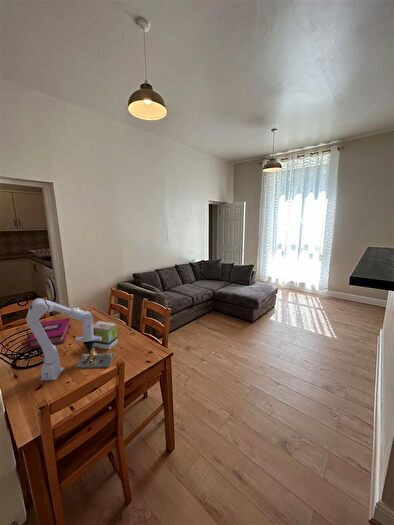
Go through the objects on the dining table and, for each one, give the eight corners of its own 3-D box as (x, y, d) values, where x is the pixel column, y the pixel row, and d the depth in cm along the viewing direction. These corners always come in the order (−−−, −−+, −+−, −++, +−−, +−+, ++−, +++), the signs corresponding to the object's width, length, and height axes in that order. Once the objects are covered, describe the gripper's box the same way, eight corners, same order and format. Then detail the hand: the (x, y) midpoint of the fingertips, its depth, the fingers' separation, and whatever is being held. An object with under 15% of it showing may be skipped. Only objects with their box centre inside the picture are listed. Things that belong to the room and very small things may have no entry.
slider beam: (109, 361, 131) (108, 358, 131) (80, 362, 130) (79, 359, 130) (111, 356, 136) (111, 353, 136) (83, 357, 135) (83, 354, 135)
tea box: (118, 342, 154) (117, 323, 151) (109, 350, 145) (107, 330, 142) (100, 338, 158) (99, 320, 155) (90, 346, 148) (88, 326, 146)
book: (27, 350, 144) (25, 339, 143) (40, 330, 170) (39, 321, 168) (63, 344, 151) (62, 334, 150) (70, 325, 177) (70, 317, 176)
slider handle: (93, 361, 130) (92, 353, 129) (87, 361, 130) (87, 353, 129) (97, 355, 137) (96, 347, 136) (92, 355, 136) (91, 347, 135)
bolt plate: (109, 367, 128) (108, 365, 128) (75, 368, 127) (75, 366, 126) (114, 355, 139) (114, 353, 139) (83, 356, 137) (83, 355, 137)
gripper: (102, 327, 136) (104, 347, 138) (78, 328, 134) (80, 347, 137) (98, 333, 129) (100, 353, 131) (73, 334, 128) (75, 354, 130)
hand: (90, 351), depth 134 cm, fingers closed
